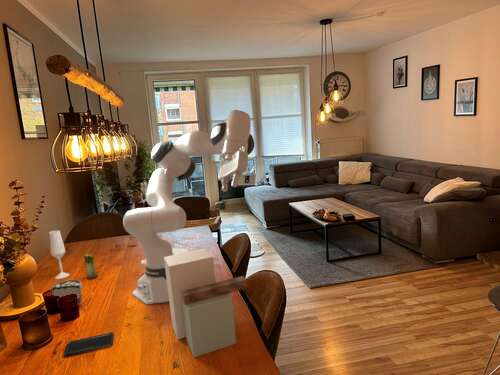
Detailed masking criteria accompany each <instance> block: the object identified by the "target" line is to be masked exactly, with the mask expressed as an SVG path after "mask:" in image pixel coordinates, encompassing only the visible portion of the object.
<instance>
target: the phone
mask: <svg viewBox="0 0 500 375" xmlns="http://www.w3.org/2000/svg"><path fill="white" fill-rule="evenodd" d="M114 337H115V332H107V333H103V334H99V335H93V336H89V337H85V338H80V339H75V340H71V341H68V342H67V343H66V345H65V348H64V351H63V352H62V353H63V354H62V355H63V357H64V358H67V357H72V356H76V355H81V354H85V353H89V352H93V351H97V350H102V349H107V348H110V347H112V346H113V345H114Z"/></svg>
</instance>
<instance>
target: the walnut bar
mask: <svg viewBox="0 0 500 375" xmlns="http://www.w3.org/2000/svg"><path fill="white" fill-rule="evenodd" d="M245 289H248V279H247V278H246V277H244V275H241V276H238V277H233V278H229V279H225V280H220V281H218V282H216V283H213V284H209V285H205V286H201V287H197V288H193V289H189V290H185V291H181V293H182V301H183V302H184V304H185V305H187V304H191V303H194V302H198V301H202V300H205V299H209V298H213V297H217V296H220V295H224V294H228V293H229V294H230V293H235V292H238V291H239V292H240V291H242V290H245Z"/></svg>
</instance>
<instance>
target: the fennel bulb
mask: <svg viewBox="0 0 500 375" xmlns="http://www.w3.org/2000/svg"><path fill="white" fill-rule="evenodd" d="M83 258H84V262H85V264H84V266H85V272H86V277H87V278H88V279H94V278H96V277H97V275H98V270H97V269H96V267H95V263H94V256H93V255H92V254H84V255H83Z"/></svg>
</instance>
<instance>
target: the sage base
mask: <svg viewBox="0 0 500 375" xmlns="http://www.w3.org/2000/svg"><path fill="white" fill-rule="evenodd" d="M181 298H182V296H181ZM182 306H183V315H184V323H185V332H186V337H185V339H186V342H187V345H188V347H189V350H190V352H191V354H192V356H193V358H197V357H199V356H202V355H205V354H208V353H212V352H215V351H218V350H221V349H224V348H227V347H231V346H233V345H237V337H236V336H237V335H236V326H235V317H234V316H235V314H234V313H235V312H234V305H233V297H232V295H230V293H228V294H224V295H220V296H217V297H213V298H209V299H205V300H202V301H198V302H194V303H191V304H187V305H185V304H184V302H183V301H182Z"/></svg>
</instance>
